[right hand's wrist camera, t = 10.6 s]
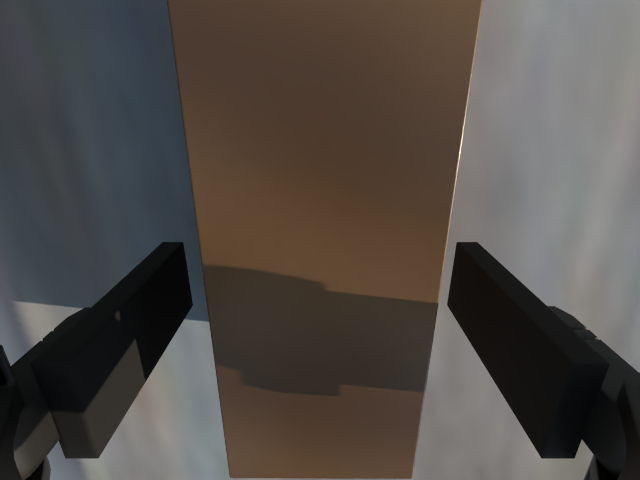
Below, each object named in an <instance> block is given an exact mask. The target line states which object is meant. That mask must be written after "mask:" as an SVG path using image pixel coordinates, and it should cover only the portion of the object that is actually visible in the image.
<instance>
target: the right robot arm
mask: <svg viewBox="0 0 640 480" xmlns="http://www.w3.org/2000/svg"><path fill="white" fill-rule="evenodd" d="M192 305H193V303H192V297H191V290H190V284H189V277H188V271H187V264H186V258H185V251H184V245H183V242H163V243H162V244H160V245H159V246H158V247H157V248H156V249H155V250H154V251H153V252H152V253H151V254H150V255H148V256H147V257H146V258H145V259H144V260H143V261H142V262H141V263H140V264H139V265H137V266H136V267H135V268H134V269H133V270H132V271H131V272H130V273H129V274H128V275H127V276H125V277H124V278H123V279H122V280H121V281H120V282H119V283H118V284H117V285H116V286H115V287H113V288H112V289H111V290H110V291H109V292H108V293H107V294H106V295H105V296H104V297H103V298H101V299H100V300H99V301H98V302H97V303H96V304H95V305H94V306H93V307H92V308H84V309H82V310H80V311H78V312H76V313H75V314H73V315H71V316H69V317H67V318H66V319H65V320H64V321H63V322H62V323H60V324H59V325H58V326H57V327H56V328H55V329H54V331H51V332H50V333H49V334H48V335H47V336H45V337H44V338H43V341H40V342H38V343H37V344H36V345H35V346H34V347H33V348H32V349H30V350H29V351H28V352H27V353H26V354H25V355H24V356H22V357H21V358H20V359H19V360H18V361H17V362H15V363H14V364H13V365H12V366H10V364H9V361H8V359H7V356H6V354H5V351H4V349H3V346H2V345H0V480H50V471H51V469H50V464H49V460H48V458H47V455H48V453H49V452H50V451H51V449H52V448H53V447H54V446H55V444H56V443H57V442H58V440H59V442H60V445H61V448H62V450H63V453H64V456H65V458H99V456H100V455H101V453H102V452H103V450H104V448H105V447H106V445H107V443H108V442H109V440H110V439H111V437H112V435H113V434H114V432H115V430H116V429H117V427H118V426H119V424H120V422H121V421H122V419H123V417H124V416H125V414H126V413H127V411H128V409H129V408H130V406H131V404H132V403H133V401H134V400H135V398H136V396H137V395H138V393H139V391H140V390H141V388H142V387H143V385H144V383H145V382H146V380H147V378H148V377H149V375H150V374H151V372H152V370H153V369H154V367H155V366H156V364H157V362H158V361H159V359H160V357H161V356H162V354H163V353H164V351H165V349H166V348H167V346H168V344H169V343H170V341H171V340H172V338H173V336H174V335H175V333H176V331H177V330H178V328H179V327H180V325H181V323H182V322H183V320H184V318H185V317H186V315H187V314H188V312H189V310H190V309H191V307H192ZM447 305H448V307H449V309H450V310H451V312H452V314H453V315H454V317H455V318H456V320H457V322H458V323H459V325H460V327H461V328H462V330H463V331H464V333H465V335H466V336H467V338H468V340H469V341H470V343H471V344H472V346H473V348H474V349H475V351H476V353H477V354H478V356H479V357H480V359H481V361H482V362H483V364H484V366H485V367H486V369H487V370H488V372H489V374H490V375H491V377H492V378H493V380H494V382H495V383H496V385H497V387H498V388H499V390H500V391H501V393H502V395H503V396H504V398H505V400H506V401H507V403H508V404H509V406H510V408H511V409H512V411H513V413H514V414H515V416H516V417H517V419H518V421H519V422H520V424H521V426H522V427H523V429H524V430H525V432H526V434H527V435H528V437H529V439H530V440H531V442H532V443H533V445H534V447H535V448H536V450H537V452H538V453H539V455H540V456H541V458H575V456H576V453H577V450H578V448H579V445H580V442H581V440H583V441H584V442H585V444H586V445H587V446H588V448H589V449H590V450H591V451H592V453H593V454H594V455H593V458H592V460H591V463H590V465H589V468H588V470H587V473H586V475H585V478H584V480H640V373H638V372H637V371H636V370H635V369H634V368H633V367H631V366H630V365H629V364H628V363H627V362H626V361H624V360H623V359H622V358H621V357H620V356H619V355H618V354H616V353H615V352H614V351H613V350H612V349H611V348H609V347H608V346H607V345H606V344H605V343H604V342H602V341H601V340H598V337H597V336H595V335H594V334H593V333H592V332H591V331H590V330H587V329H586V327H585V326H584V325H583V324H581V323H580V322H579V321H578V320H577V319H576V318H575V317H573V316H572V315H570V314H568V313H566V312H564V311H562V310H561V309H559V308H557V307H555V306H546V305H545V304H544V303H543V302H542V301H541V300H540V299H539V298H537V297H536V296H535V295H534V294H533V293H532V292H531V291H530V290H529V289H528V288H527V287H525V286H524V285H523V284H522V283H521V282H520V281H519V280H518V279H517V278H516V277H515V276H513V275H512V274H511V273H510V272H509V271H508V270H507V269H506V268H505V267H504V266H503V265H501V264H500V263H499V262H498V261H497V260H496V259H495V258H494V257H493V256H492V255H491V254H489V253H488V252H487V251H486V250H485V249H484V248H483V247H482V246H481V245H480V244H478V243H477V242H457V245H456V251H455V258H454V264H453V271H452V277H451V284H450V290H449V297H448V303H447Z"/></svg>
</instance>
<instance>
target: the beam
mask: <svg viewBox="0 0 640 480" xmlns="http://www.w3.org/2000/svg"><path fill="white" fill-rule="evenodd" d="M167 3H168V11H169V19H170V26H171V34H172V41H173V49H174V57H175V64H176V72H177V79H178V87H179V95H180V102H181V110H182V117H183V125H184V133H185V140H186V148H187V155H188V163H189V171H190V178H191V186H192V193H193V201H194V209H195V216H196V224H197V231H198V239H199V247H200V254H201V262H202V269H203V277H204V285H205V292H206V300H207V307H208V315H209V323H210V330H211V338H212V345H213V353H214V361H215V368H216V376H217V383H218V391H219V399H220V406H221V414H222V421H223V429H224V437H225V444H226V452H227V459H228V467H229V475H230V478H408V479H411V478H412V477H413V471H414V464H415V457H416V451H417V444H418V437H419V430H420V424H421V417H422V410H423V403H424V397H425V390H426V383H427V376H428V370H429V363H430V356H431V349H432V343H433V336H434V329H435V322H436V315H437V309H438V302H439V295H440V288H441V282H442V275H443V268H444V261H445V255H446V248H447V241H448V234H449V228H450V221H451V214H452V207H453V201H454V194H455V187H456V180H457V174H458V167H459V160H460V153H461V147H462V140H463V133H464V126H465V120H466V113H467V106H468V99H469V93H470V86H471V79H472V72H473V66H474V59H475V52H476V45H477V38H478V32H479V25H480V18H481V11H482V5H483V0H167Z"/></svg>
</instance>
